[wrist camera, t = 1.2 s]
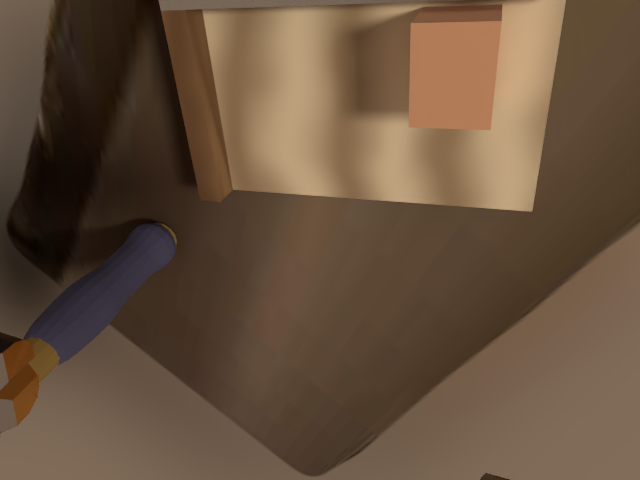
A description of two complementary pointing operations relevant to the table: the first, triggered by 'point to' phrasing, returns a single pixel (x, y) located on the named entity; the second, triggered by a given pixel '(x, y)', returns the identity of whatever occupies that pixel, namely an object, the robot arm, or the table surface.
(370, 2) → the steel straightedge
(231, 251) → the table surface
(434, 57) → the block
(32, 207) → the table surface
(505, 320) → the table surface
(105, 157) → the table surface
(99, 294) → the rubber mallet
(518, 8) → the birch board
